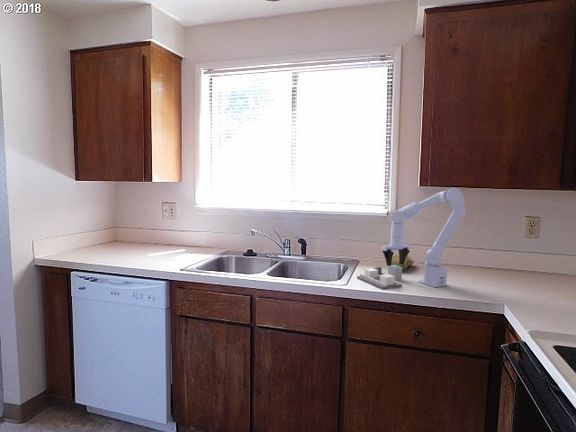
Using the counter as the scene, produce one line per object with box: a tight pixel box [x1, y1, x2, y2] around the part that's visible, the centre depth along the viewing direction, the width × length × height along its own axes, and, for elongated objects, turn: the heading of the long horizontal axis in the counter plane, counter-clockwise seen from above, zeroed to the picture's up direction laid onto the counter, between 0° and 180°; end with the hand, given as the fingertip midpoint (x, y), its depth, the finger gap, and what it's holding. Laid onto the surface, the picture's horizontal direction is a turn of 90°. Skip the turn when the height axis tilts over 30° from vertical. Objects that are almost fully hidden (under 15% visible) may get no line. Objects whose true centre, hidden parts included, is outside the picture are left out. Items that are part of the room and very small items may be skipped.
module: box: [387, 265, 403, 282], centre depth 173 cm, size 5×4×6 cm
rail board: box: [356, 267, 403, 290], centre depth 167 cm, size 18×11×4 cm, turn 25°
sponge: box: [391, 254, 415, 271], centre depth 195 cm, size 13×8×20 cm
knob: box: [373, 266, 383, 275], centre depth 183 cm, size 4×4×3 cm
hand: (395, 264), depth 173 cm, fingers open, 7 cm apart
